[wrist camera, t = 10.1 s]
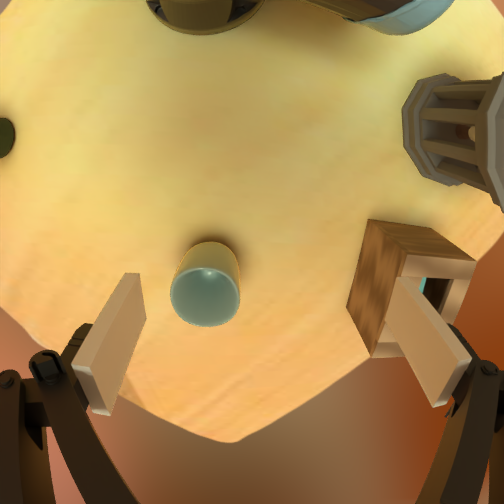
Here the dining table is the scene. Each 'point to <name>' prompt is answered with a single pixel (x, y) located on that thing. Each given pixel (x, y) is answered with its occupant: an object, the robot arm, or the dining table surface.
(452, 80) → the lantern
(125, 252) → the dining table surface
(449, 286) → the coin box
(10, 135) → the character mug
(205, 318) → the cup
